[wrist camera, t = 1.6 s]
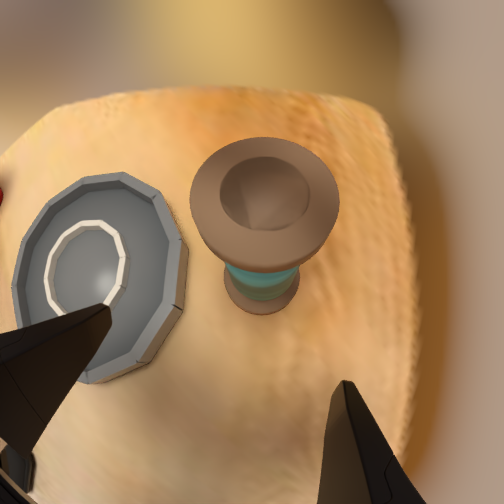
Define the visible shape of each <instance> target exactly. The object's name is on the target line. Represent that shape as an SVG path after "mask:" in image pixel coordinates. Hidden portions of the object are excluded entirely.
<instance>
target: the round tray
mask: <svg viewBox="0 0 504 504" xmlns="http://www.w3.org/2000/svg"><path fill="white" fill-rule="evenodd" d="M22 240H23V241H21V245H20V249H19V253H18V257H17V261H16V265H15V270H14V275H13V280H12V285H11V286H12V287H11V289H12V297H13V304H14V311H15V317H16V322H17V327H18V329H20V328H23V327H26V326H30V325H33V324H36V323H39V322H42V321H45V320H48V319H52V318H55V317H58V316H61V315H64V314H67V313H70V312H73V311H77V310H80V309H83V308H86V307H89V306H92V305H95V304H98V303H103V304H106V305H108V306H109V307H110V309H111V315H112V327H111V329H110V330H109V332H108V334H107V335H106V337H105V339H104V340H103V342H102V344H101V346H100V347H99V349H98V351H97V352H96V354H95V356H94V357H93V358H92V360H91V361H90V363H89V364H88V365H87V367H86V368H85V370H84V371H83V372H82V374H81V375H80V377H79V378H78V380H77V381H79V382H82V383H86V384H96V383H104V382H107V381H109V380H111V379H114V378H116V377H118V376H121V375H123V374H125V373H128V372H130V371H132V370H134V369H136V368H139V367H141V366H143V365H145V364H148V363H149V362H151V360H152V359H153V357H154V355H155V354H156V352H157V351H158V349H159V348H160V346H161V344H162V343H163V341H164V340H165V338H166V337H167V335H168V334H169V332H170V331H171V329H172V327H173V326H174V324H175V323H176V321H177V320H178V318H179V317H180V315H181V314H182V312H183V311H181V310H183V309H184V296H185V284H186V274H187V264H188V254H189V251H188V247H187V245H186V243H185V241H184V239H183V237H182V235H181V232H180V230H179V228H178V226H177V224H176V222H175V219H174V217H173V215H172V213H171V210H170V208H169V206H168V204H167V202H166V201H165V199H164V197H163V195H162V193H161V192H160V191H159V190H157V189H155V188H153V187H151V186H149V185H148V184H146V183H144V182H142V181H140V180H138V179H136V178H135V177H133V176H131V175H129V174H127V173H125V172H118V173H109V174H101V175H94V176H87V177H84V178H81V179H79V180H78V181H76V182H75V183H73V184H72V185H70V186H69V187H67V188H66V189H64V190H63V191H62V192H60V193H59V194H57V195H56V196H54V197H53V198H52V199H50V200H49V201H48V203H46V204H45V206H44V207H43V208H42V210H41V211H40V213H39V214H38V216H37V217H36V219H35V220H34V222H33V223H32V225H31V226H30V228H29V229H28V231H27V233H26V234H25V236H24V237H23V239H22Z"/></svg>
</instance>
